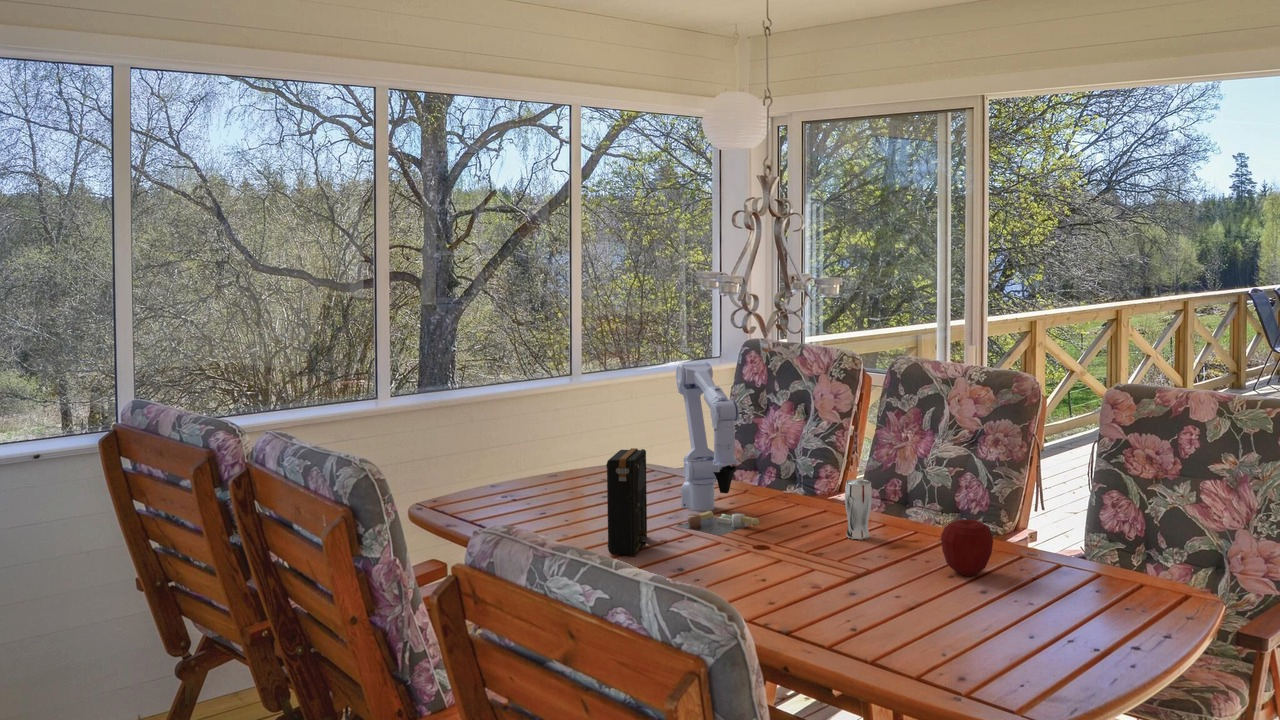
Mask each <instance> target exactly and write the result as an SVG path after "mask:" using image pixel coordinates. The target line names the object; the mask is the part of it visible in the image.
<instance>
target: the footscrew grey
mask: <svg viewBox="0 0 1280 720" xmlns="http://www.w3.org/2000/svg"><path fill="white" fill-rule="evenodd" d="M731 517H732V527H737V528H741V527H744V528H746V527H745V524H749V525H752V526H753V527H757V526H758V525H760V520H759V518H758V517H751V516H746V515H745V514H744V513H732V514H731ZM741 529H742V528H741Z"/></svg>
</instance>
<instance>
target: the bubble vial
mask: <svg viewBox="0 0 1280 720" xmlns="http://www.w3.org/2000/svg"><path fill="white" fill-rule="evenodd" d="M717 518H718V522H721V523H726V524H731V523H732V514H731V515H730V514H725V513H721V515H720V516H719V517H717Z"/></svg>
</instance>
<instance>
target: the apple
mask: <svg viewBox="0 0 1280 720" xmlns="http://www.w3.org/2000/svg"><path fill="white" fill-rule="evenodd" d="M940 538H941V539H940V540H941V548H942V549H941V550H942V554H943V556H944V558H945V559H944V560H945V563H946V564H947V566H948V567H949V568H951V569H952V570H953V571H954V572H955V573H957V574H959V575H962V576H965V577H966V576H969V577H971V576H977V575H978V574H979V573H980V572H982V571H983V570H985V568H986V567H987V565H988V562H989V560H990V558H991V555H992V554H993V544H994V539H993V535H992V531H991V529H990V528H989V527H988V526H986V524H985V523H984V522H982V521H979V520H976V519H969V517H968V518H967V519H957V520H953V521H951V522H949V523H948V524H947V525H945V526H944V528H943V530H942V533H941V536H940Z"/></svg>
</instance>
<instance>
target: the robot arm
mask: <svg viewBox="0 0 1280 720" xmlns="http://www.w3.org/2000/svg"><path fill="white" fill-rule="evenodd" d="M675 370H676V371H675V380H676V388H677V391H678V393H679V394H680V395H682V396H683V400H684V407H685V413H686V421H687V429H688V433H689V436H688V437H689V443H690V451H689V452H687V453H686V455H685V456H684V457H683V476H684V479H685V481H684V482H683V483H682V485H681V490H680V491H681V494H680V495H681V496H680V499H681V508H684V509H688V510H692V511H696V512H698V511H699V512H707V511H713V510H715V483H717V485H718V489H719V493H720V494H728V493H730V489H731V484H732V480H733V477H734V474H735V472H736V471H737V466H734V465H738V464H739V463H740V461H739V460H737V455H736V453H735V452H736V449H735V448H736V445H735V444H736V440H735V439H736V438H735V437H736V433H735V432H736V428H735V427H736V425H735V424H736V422H737V420H738V418H739V407H738V404H737V402H736V400H735V399H733V400H732V399H729V398H728V396H727V394H726V393H725V392H724V390H723V389H722V388H721V387H720V386H719V385H718V386H717V385H716V384H715V382H714V380H713V377H714V374H713V373H714V372H713V367H712V365H711V364H710V363H709V362H702V363H701V362H700V363H699V362H698V363H679V364H678V365H677V366H676V369H675ZM702 395H703V399H704V401H705V403H706V405H707V406H708V408H709V409H710V412H709V413H710V418H711V426H712V429H713V450H712V449H710V448H709V447H708V440H707V434H706V427H705V419H704V413H703V406H702V398H701V396H702Z"/></svg>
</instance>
